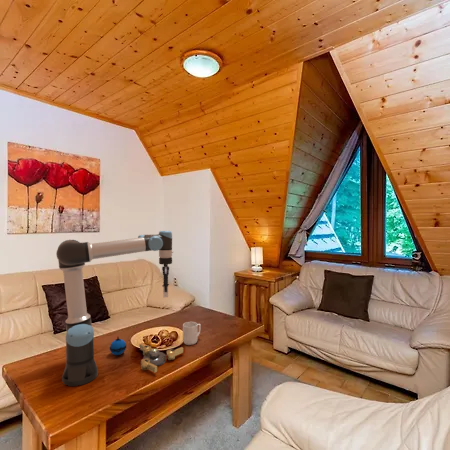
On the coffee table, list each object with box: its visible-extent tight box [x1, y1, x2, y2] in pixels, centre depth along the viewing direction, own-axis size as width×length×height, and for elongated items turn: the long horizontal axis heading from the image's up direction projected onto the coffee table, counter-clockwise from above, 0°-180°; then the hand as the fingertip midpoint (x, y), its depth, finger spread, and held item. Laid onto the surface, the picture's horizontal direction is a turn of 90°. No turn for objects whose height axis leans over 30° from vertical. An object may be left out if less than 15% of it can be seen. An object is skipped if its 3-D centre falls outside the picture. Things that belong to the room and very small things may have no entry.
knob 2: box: [140, 358, 158, 373], centre depth 140 cm, size 10×4×4 cm, turn 53°
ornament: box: [109, 336, 127, 356], centre depth 157 cm, size 9×9×10 cm
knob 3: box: [166, 346, 184, 361], centre depth 154 cm, size 10×4×4 cm, turn 138°
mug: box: [182, 321, 202, 346], centre depth 174 cm, size 12×9×11 cm
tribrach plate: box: [142, 348, 167, 367], centre depth 150 cm, size 12×12×6 cm
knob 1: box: [138, 343, 152, 357], centre depth 158 cm, size 10×4×4 cm, turn 42°
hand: (165, 296), depth 167 cm, fingers closed
